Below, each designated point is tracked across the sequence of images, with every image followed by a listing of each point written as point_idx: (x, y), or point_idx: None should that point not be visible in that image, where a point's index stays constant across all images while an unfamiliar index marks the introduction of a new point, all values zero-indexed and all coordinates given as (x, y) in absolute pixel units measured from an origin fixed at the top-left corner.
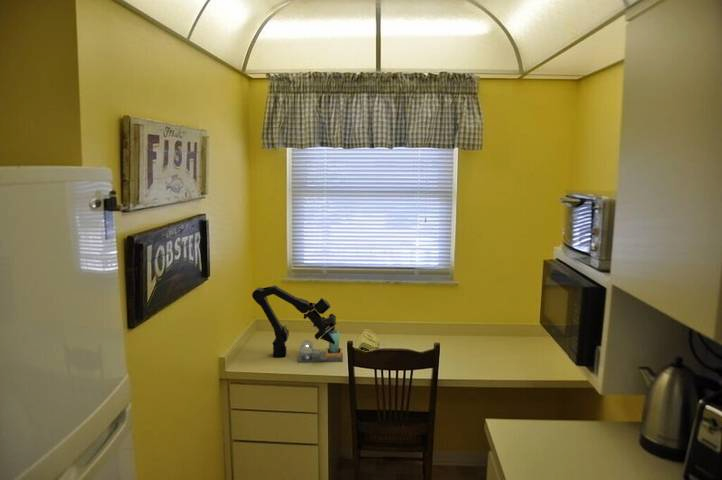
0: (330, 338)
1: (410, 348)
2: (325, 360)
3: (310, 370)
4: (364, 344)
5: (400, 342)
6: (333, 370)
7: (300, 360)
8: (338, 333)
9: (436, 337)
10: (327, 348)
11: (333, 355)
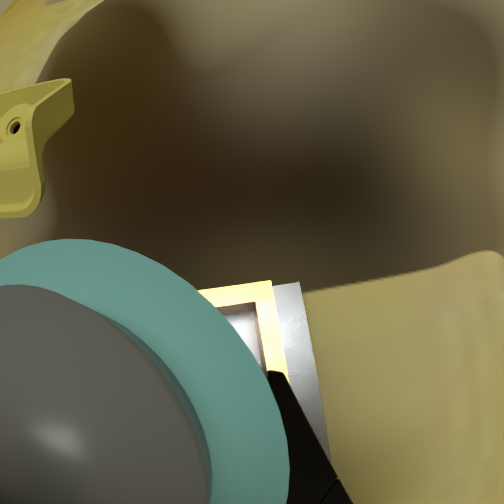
0: (331, 489)
1: (78, 17)
2: (325, 446)
3: (478, 473)
4: (44, 118)
5: (5, 59)
6: (467, 323)
7: None
8: (118, 250)
9: (15, 10)
10: None
11: None
